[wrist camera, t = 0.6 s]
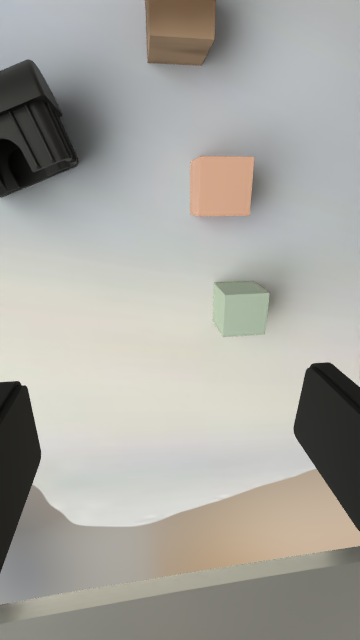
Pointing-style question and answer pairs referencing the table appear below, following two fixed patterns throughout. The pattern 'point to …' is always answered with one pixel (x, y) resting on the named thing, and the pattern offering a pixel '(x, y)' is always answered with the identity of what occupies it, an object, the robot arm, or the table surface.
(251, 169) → the terracotta block
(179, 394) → the table surface
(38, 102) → the black claw piece
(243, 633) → the robot arm
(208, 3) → the walnut block
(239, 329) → the sage block
